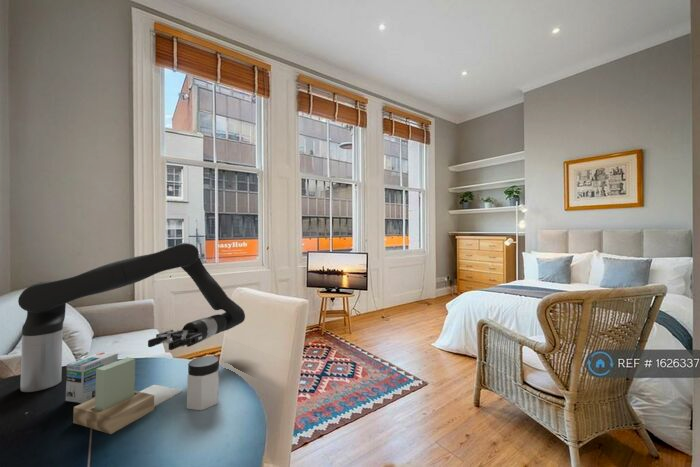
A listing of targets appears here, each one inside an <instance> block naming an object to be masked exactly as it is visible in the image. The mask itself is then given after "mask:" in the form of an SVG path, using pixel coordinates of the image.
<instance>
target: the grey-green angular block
mask: <svg viewBox="0 0 700 467" xmlns="http://www.w3.org/2000/svg"><path fill="white" fill-rule="evenodd" d="M135 380H136V358H132V357H124V358H121V359H119V360H117V361H116V362H113V363H110V364H108V365H105V366H102V367H99V368H97V369H96V392H95V411H97V412H101V411H104V410H106V409H108V408H110V407H112V406H114V405H116V404H118V403H120V402H122V401H124V400H126V399H128V398H130V397H132V396H134V392H135V391H136V390H135V389H136V388H135V386H136V385H135V384H136V383H135V382H136V381H135Z"/></svg>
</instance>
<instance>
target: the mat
mask: <svg viewBox="0 0 700 467" xmlns="http://www.w3.org/2000/svg"><path fill="white" fill-rule="evenodd" d="M183 391H184V390H182V389H179V388H172V387H167V386H164V385H158V384H152V385H150V386H149V387H148V386H147V387H146V388H144V389H142V390H140V391H139V392H142V393H147V394H151V395H154V408H156V407H157V406H159V405H161V404H164V403H165V402H167V401H168V400H170V399H172V398H174V397H176V396H177V395H179V394H181V393H183Z"/></svg>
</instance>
